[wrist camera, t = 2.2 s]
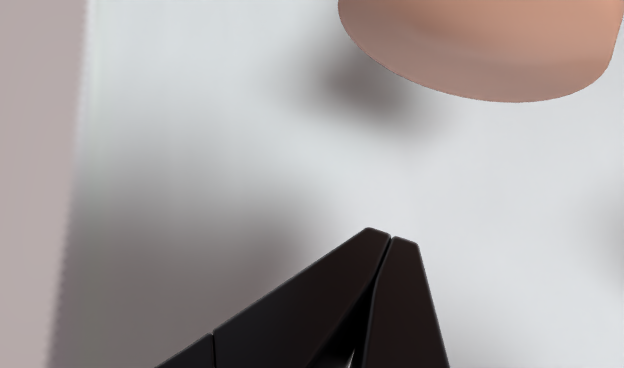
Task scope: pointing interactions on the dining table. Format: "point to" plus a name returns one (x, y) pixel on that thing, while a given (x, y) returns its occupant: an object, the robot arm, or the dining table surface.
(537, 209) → the dining table surface
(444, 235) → the dining table surface
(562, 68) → the button terracotta
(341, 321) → the robot arm
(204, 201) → the dining table surface
